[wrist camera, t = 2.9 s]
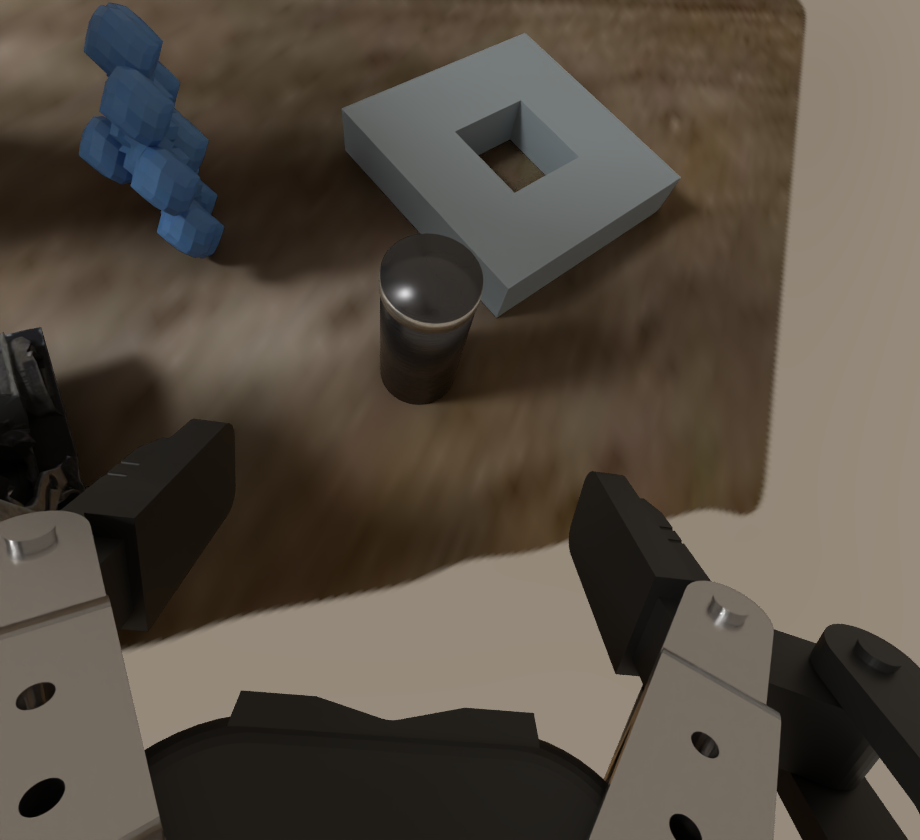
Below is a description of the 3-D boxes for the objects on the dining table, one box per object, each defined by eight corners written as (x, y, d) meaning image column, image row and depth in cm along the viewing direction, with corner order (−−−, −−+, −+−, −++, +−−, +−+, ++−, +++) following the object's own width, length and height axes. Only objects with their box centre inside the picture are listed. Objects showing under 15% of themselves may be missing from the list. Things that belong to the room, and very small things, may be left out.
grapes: (118, 164, 34) (-9, -49, 23) (221, 152, 36) (148, -52, 25) (142, 303, 31) (6, 133, 20) (253, 282, 32) (186, 115, 21)
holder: (345, 150, 38) (341, 108, 34) (514, 74, 44) (525, 33, 40) (496, 317, 34) (508, 288, 31) (657, 210, 40) (681, 177, 37)
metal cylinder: (364, 362, 32) (357, 262, 22) (423, 325, 33) (440, 217, 24) (411, 419, 31) (423, 340, 21) (469, 378, 32) (505, 287, 23)
